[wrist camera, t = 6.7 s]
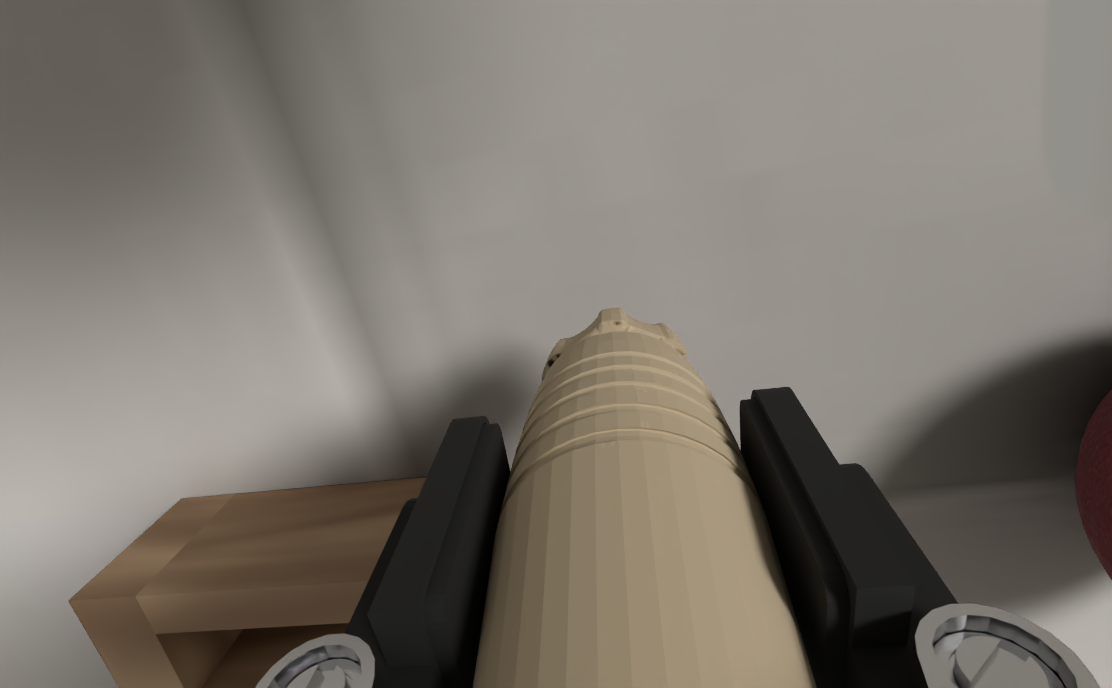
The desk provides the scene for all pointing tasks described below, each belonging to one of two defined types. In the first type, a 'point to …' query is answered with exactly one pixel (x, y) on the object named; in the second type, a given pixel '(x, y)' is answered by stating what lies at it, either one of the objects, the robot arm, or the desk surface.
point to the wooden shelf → (238, 582)
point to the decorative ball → (1097, 482)
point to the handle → (633, 533)
